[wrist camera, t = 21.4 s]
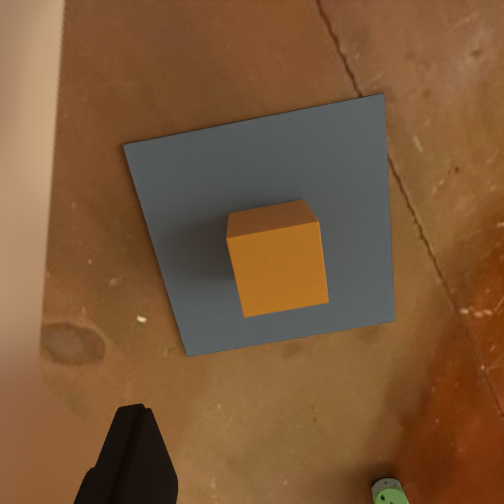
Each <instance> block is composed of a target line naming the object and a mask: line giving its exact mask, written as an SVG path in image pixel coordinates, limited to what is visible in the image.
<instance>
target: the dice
mask: <svg viewBox="0 0 504 504" xmlns="http://www.w3.org/2000/svg"><path fill="white" fill-rule="evenodd" d="M371 490H372V493H373V496H372V497H373V501H374V504H409V503H408V501H407V498H406V496H405V493H404V491H403V489H402V487H401V485H400V483H399V481H398V480H396V479H393V478H385V479H381V480H379V481H377V482H376V483H375V484H374V485H373V487H372V489H371Z"/></svg>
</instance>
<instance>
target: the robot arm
mask: <svg viewBox="0 0 504 504" xmlns="http://www.w3.org/2000/svg"><path fill="white" fill-rule="evenodd" d="M177 495H178V479H177V475H176V473H175V470H174V467H173V465H172V462H171V459H170V457H169V454H168V451H167V449H166V446H165V444H164V441H163V438H162V436H161V433H160V430H159V428H158V425H157V423H156V420H155V417H154V415H153V412H152V410H151V409H150V408H146V409H145V407H144V405H143V404H134V405H128V406H122V407H119V408H118V410H117V411H116V414H115V416H114V419H113V421H112V424H111V427H110V429H109V432H108V434H107V437H106V439H105V442H104V445H103V447H102V450H101V453H100V455H99V458H98V460H97V463H96V465H95V467H93V468H91V469H90V470H89V471H88V472H87V473H86V475H85V477H84V479H83V481H82V484H81V486H80V489H79V491H78V494H77V496H76V499H75V501H74V504H176V501H177Z"/></svg>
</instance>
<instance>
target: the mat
mask: <svg viewBox="0 0 504 504" xmlns="http://www.w3.org/2000/svg"><path fill="white" fill-rule="evenodd" d="M123 149H124V152H125V155H126V158H127V162H128V165H129V168H130V172H131V175H132V178H133V181H134V185H135V188H136V191H137V194H138V198H139V201H140V204H141V208H142V211H143V214H144V217H145V221H146V224H147V227H148V230H149V234H150V237H151V240H152V244H153V247H154V250H155V253H156V257H157V260H158V263H159V266H160V270H161V273H162V276H163V279H164V283H165V286H166V289H167V293H168V296H169V299H170V302H171V306H172V309H173V312H174V315H175V319H176V322H177V325H178V329H179V332H180V335H181V338H182V342H183V345H184V348H185V351H186V355H187V357H190V356H196V355H202V354H208V353H213V352H219V351H225V350H231V349H237V348H242V347H248V346H254V345H260V344H265V343H271V342H277V341H283V340H289V339H294V338H300V337H306V336H312V335H317V334H323V333H329V332H335V331H341V330H346V329H352V328H358V327H364V326H369V325H375V324H381V323H387V322H393V321H395V314H394V293H393V272H392V251H391V230H390V209H389V188H388V167H387V146H386V125H385V104H384V93H381V94H376V95H371V96H366V97H361V98H356V99H351V100H346V101H341V102H336V103H331V104H325V105H320V106H315V107H310V108H305V109H300V110H295V111H290V112H285V113H280V114H275V115H270V116H265V117H260V118H255V119H250V120H245V121H240V122H235V123H230V124H225V125H220V126H215V127H210V128H204V129H199V130H194V131H189V132H184V133H179V134H174V135H169V136H164V137H159V138H154V139H149V140H144V141H139V142H134V143H129V144H124V145H123ZM302 199H304V201H305V202H306V203H307V205H308V206H309V208H310V209H311V211H312V212H313V214H314V215H315V217H316V218H317V220H318V221H319V225H320V234H321V242H322V250H323V258H324V266H325V274H326V283H327V291H328V299H329V303H324V304H319V305H313V306H307V307H302V308H296V309H290V310H285V311H279V312H273V313H268V314H262V315H256V316H251V317H244V316H243V312H242V308H241V303H240V299H239V294H238V290H237V285H236V281H235V276H234V272H233V268H232V263H231V259H230V254H229V250H228V245H227V241H226V236H227V226H228V217H229V213H233V212H238V211H244V210H249V209H254V208H259V207H265V206H270V205H275V204H281V203H286V202H291V201H297V200H302Z"/></svg>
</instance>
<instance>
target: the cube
mask: <svg viewBox="0 0 504 504" xmlns="http://www.w3.org/2000/svg"><path fill="white" fill-rule="evenodd" d="M226 241H227V245H228V250H229V254H230V259H231V263H232V268H233V272H234V276H235V281H236V285H237V290H238V294H239V299H240V303H241V308H242V312H243V316H244V317H251V316H256V315H262V314H268V313H273V312H279V311H285V310H290V309H296V308H302V307H307V306H313V305H319V304H324V303H329V299H328V291H327V283H326V274H325V266H324V258H323V250H322V242H321V234H320V225H319V221H318V220H317V218H316V217H315V215H314V214H313V212H312V211H311V209H310V208H309V206H308V205H307V203H306V202H305V201H304V199H302V200H297V201H291V202H286V203H281V204H275V205H270V206H265V207H259V208H254V209H249V210H244V211H238V212H233V213H229V217H228V226H227V236H226Z"/></svg>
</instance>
